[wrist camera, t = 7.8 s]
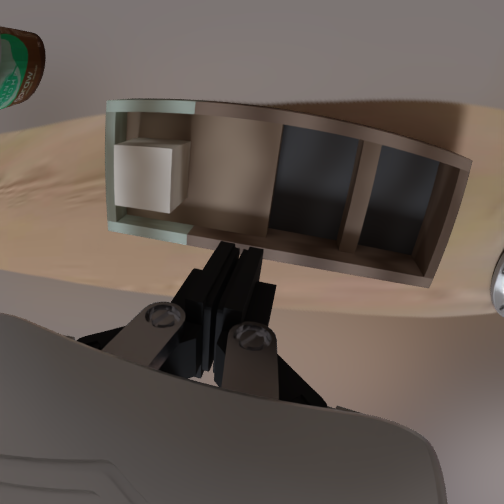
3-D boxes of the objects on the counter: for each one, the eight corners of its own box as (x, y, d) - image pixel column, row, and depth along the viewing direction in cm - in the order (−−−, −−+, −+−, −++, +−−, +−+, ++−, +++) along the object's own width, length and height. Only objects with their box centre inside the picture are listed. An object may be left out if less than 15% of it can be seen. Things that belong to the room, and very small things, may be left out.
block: (190, 141, 24) (172, 148, 21) (187, 197, 27) (169, 213, 23) (137, 137, 25) (114, 144, 21) (137, 190, 27) (114, 205, 24)
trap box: (450, 150, 23) (472, 160, 19) (415, 264, 29) (429, 288, 25) (132, 98, 26) (106, 100, 22) (130, 213, 31) (108, 230, 27)
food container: (31, 129, 28) (-32, 148, 19) (6, 111, 27) (-53, 126, 18) (68, 34, 23) (0, 28, 14) (39, 22, 22) (-24, 18, 13)
